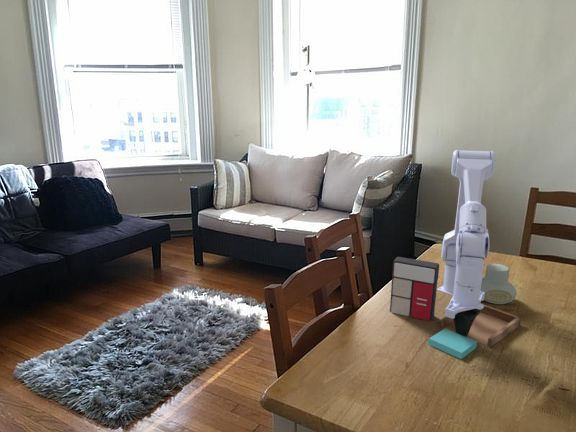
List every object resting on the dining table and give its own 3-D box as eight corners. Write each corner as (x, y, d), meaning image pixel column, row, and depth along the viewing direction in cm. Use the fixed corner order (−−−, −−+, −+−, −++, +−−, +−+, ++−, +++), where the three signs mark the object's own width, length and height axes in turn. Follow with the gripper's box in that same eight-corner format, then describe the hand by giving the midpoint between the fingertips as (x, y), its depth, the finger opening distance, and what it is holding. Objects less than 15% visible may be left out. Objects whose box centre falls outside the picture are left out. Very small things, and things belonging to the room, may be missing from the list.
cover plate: (444, 337, 108) (444, 328, 107) (475, 351, 102) (477, 341, 102) (428, 348, 104) (429, 338, 103) (460, 362, 98) (461, 352, 97)
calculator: (388, 314, 118) (392, 261, 114) (393, 307, 122) (396, 256, 118) (431, 323, 114) (436, 269, 110) (434, 316, 117) (439, 263, 113)
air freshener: (475, 304, 124) (479, 271, 121) (471, 291, 132) (474, 260, 129) (518, 308, 122) (523, 274, 119) (511, 295, 129) (515, 263, 127)
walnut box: (471, 308, 121) (472, 300, 121) (519, 326, 112) (521, 317, 112) (440, 328, 111) (441, 319, 111) (490, 349, 102) (491, 339, 102)
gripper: (468, 297, 94) (461, 354, 98) (499, 279, 103) (492, 331, 107) (438, 286, 99) (433, 341, 103) (470, 270, 109) (464, 320, 112)
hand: (461, 335), depth 105 cm, fingers closed
